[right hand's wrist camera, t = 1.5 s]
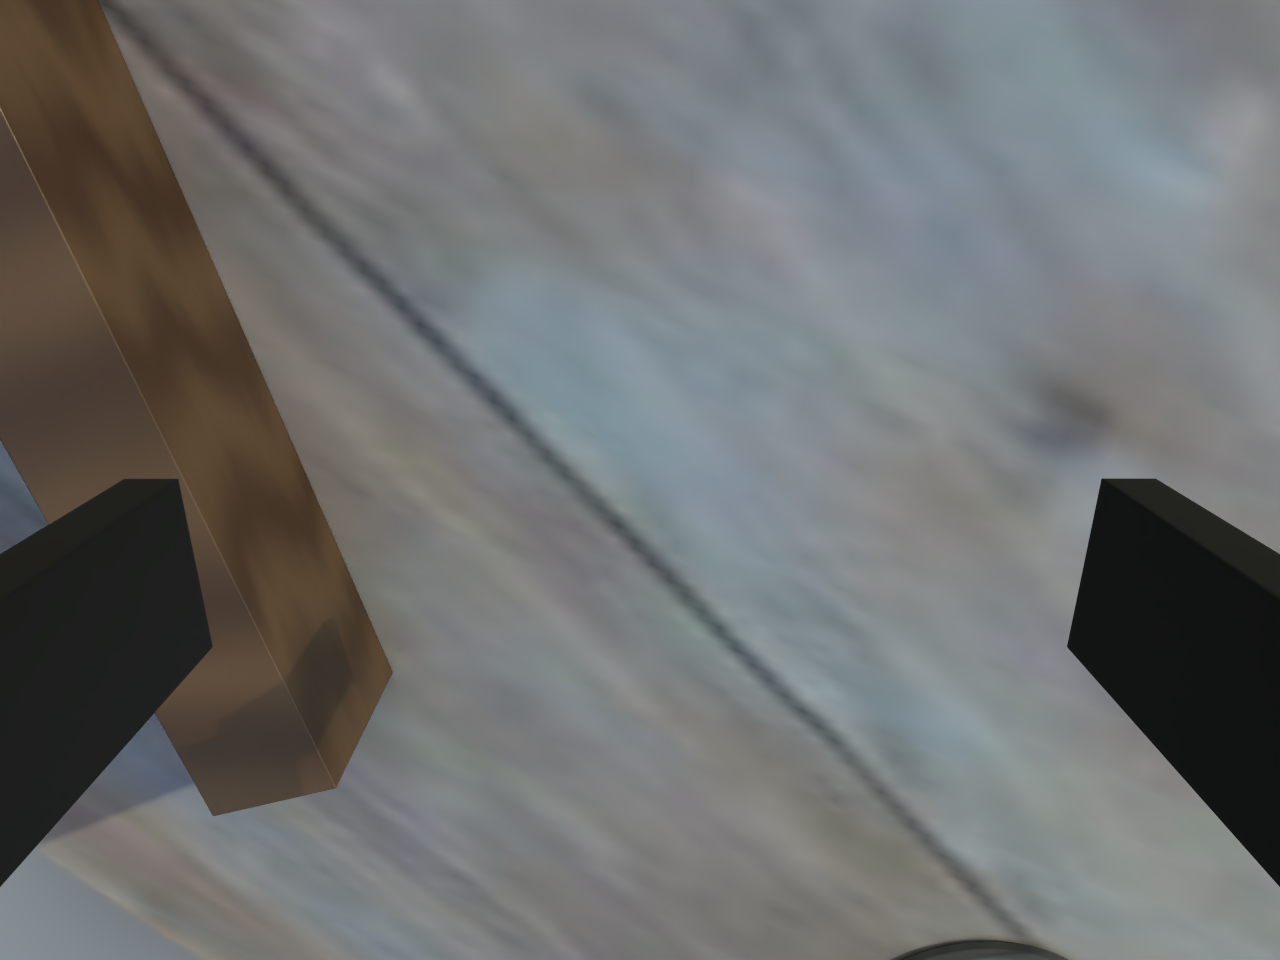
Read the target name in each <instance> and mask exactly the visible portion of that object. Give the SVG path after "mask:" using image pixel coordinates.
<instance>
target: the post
mask: <svg viewBox="0 0 1280 960" xmlns="http://www.w3.org/2000/svg"><path fill="white" fill-rule="evenodd" d="M0 440H1V441H2V443H3V445H4V447H5V448H6V450H7V452H8V454H9V456H10V457H11V459H12V461H13V463H14V464H15V466H16V468H17V470H18V471H19V473H20V475H21V477H22V479H23V480H24V482H25V484H26V486H27V487H28V489H29V491H30V493H31V494H32V496H33V498H34V500H35V502H36V503H37V505H38V507H39V509H40V510H41V512H42V514H43V516H44V518H45V519H46V521H47V523H48V525H49V524H51V523H53V522H54V521H56V520H57V519H59V518H61V517H62V516H64V515H66V514H67V513H69V512H71V511H72V510H74V509H76V508H77V507H79V506H80V505H82V504H84V503H85V502H87V501H89V500H90V499H92V498H94V497H95V496H97V495H99V494H100V493H102V492H103V491H105V490H107V489H108V488H110V487H112V486H113V485H115V484H117V483H118V482H120V481H122V480H123V479H178V480H179V485H180V490H181V494H182V499H183V504H184V509H185V514H186V519H187V524H188V528H189V533H190V538H191V543H192V548H193V553H194V558H195V563H196V567H197V572H198V577H199V582H200V587H201V592H202V597H203V601H204V606H205V611H206V616H207V621H208V626H209V631H210V635H211V640H212V645H213V647H212V648H211V650H210V651H209V652H208V653H207V654H206V655H205V656H204V657H203V659H202V660H201V661H200V662H199V663H198V664H197V665H196V666H195V668H194V669H193V670H192V671H191V672H190V673H189V674H188V675H187V677H186V678H185V679H184V680H183V681H182V682H181V683H180V685H179V686H178V687H177V688H176V689H175V690H174V691H173V692H172V694H171V695H170V696H169V697H168V698H167V699H166V700H165V701H164V703H163V704H162V705H161V706H160V707H159V708H158V709H157V710H156V712H155V714H156V716H157V718H158V719H159V721H160V723H161V725H162V726H163V728H164V730H165V732H166V734H167V735H168V737H169V739H170V741H171V742H172V744H173V746H174V748H175V749H176V751H177V753H178V755H179V757H180V758H181V760H182V762H183V764H184V765H185V767H186V769H187V771H188V772H189V774H190V776H191V778H192V780H193V781H194V783H195V785H196V787H197V788H198V790H199V792H200V794H201V795H202V797H203V799H204V801H205V803H206V804H207V806H208V808H209V810H210V811H211V813H212V815H213V816H216V815H221V814H225V813H229V812H234V811H238V810H242V809H247V808H251V807H255V806H260V805H264V804H268V803H273V802H277V801H282V800H286V799H290V798H295V797H299V796H303V795H308V794H312V793H316V792H321V791H325V790H330V789H334V788H336V787H337V785H338V783H339V781H340V779H341V777H342V775H343V772H344V770H345V768H346V766H347V764H348V762H349V760H350V758H351V756H352V754H353V752H354V750H355V748H356V746H357V744H358V742H359V740H360V738H361V736H362V734H363V732H364V730H365V728H366V726H367V724H368V721H369V719H370V717H371V715H372V713H373V711H374V709H375V707H376V705H377V703H378V701H379V699H380V697H381V695H382V693H383V691H384V689H385V687H386V685H387V683H388V681H389V679H390V677H391V675H392V670H391V667H390V665H389V663H388V660H387V658H386V656H385V654H384V651H383V649H382V647H381V644H380V642H379V640H378V638H377V635H376V633H375V631H374V629H373V626H372V624H371V622H370V619H369V617H368V615H367V613H366V610H365V608H364V606H363V603H362V601H361V599H360V597H359V594H358V592H357V590H356V588H355V585H354V583H353V581H352V578H351V576H350V574H349V572H348V569H347V567H346V565H345V562H344V560H343V558H342V556H341V553H340V551H339V549H338V546H337V544H336V542H335V540H334V537H333V535H332V533H331V531H330V528H329V526H328V524H327V521H326V519H325V517H324V515H323V512H322V510H321V508H320V505H319V503H318V501H317V499H316V496H315V494H314V492H313V490H312V487H311V485H310V483H309V480H308V478H307V476H306V474H305V471H304V469H303V467H302V464H301V462H300V460H299V458H298V455H297V453H296V451H295V448H294V446H293V444H292V442H291V439H290V437H289V435H288V433H287V430H286V428H285V426H284V423H283V421H282V419H281V417H280V414H279V412H278V410H277V407H276V405H275V403H274V401H273V398H272V396H271V394H270V391H269V389H268V387H267V385H266V382H265V380H264V378H263V376H262V373H261V371H260V369H259V366H258V364H257V362H256V360H255V357H254V355H253V353H252V350H251V348H250V346H249V344H248V341H247V339H246V337H245V335H244V332H243V330H242V328H241V325H240V323H239V321H238V319H237V316H236V314H235V312H234V309H233V307H232V305H231V303H230V300H229V298H228V296H227V293H226V291H225V289H224V287H223V284H222V282H221V280H220V278H219V275H218V273H217V271H216V268H215V266H214V264H213V262H212V259H211V257H210V255H209V252H208V250H207V248H206V246H205V243H204V241H203V239H202V237H201V234H200V232H199V230H198V227H197V225H196V223H195V221H194V218H193V216H192V214H191V211H190V209H189V207H188V205H187V202H186V200H185V198H184V195H183V193H182V191H181V189H180V186H179V184H178V182H177V180H176V177H175V175H174V173H173V170H172V168H171V166H170V164H169V161H168V159H167V157H166V154H165V152H164V150H163V148H162V145H161V143H160V141H159V139H158V136H157V134H156V132H155V129H154V127H153V125H152V123H151V120H150V118H149V116H148V113H147V111H146V109H145V107H144V104H143V102H142V100H141V97H140V95H139V93H138V91H137V88H136V86H135V84H134V82H133V79H132V77H131V75H130V72H129V70H128V68H127V66H126V63H125V61H124V59H123V56H122V54H121V52H120V50H119V47H118V45H117V43H116V41H115V38H114V36H113V34H112V31H111V29H110V27H109V25H108V22H107V20H106V18H105V15H104V13H103V11H102V9H101V6H100V4H99V2H98V0H0Z"/></svg>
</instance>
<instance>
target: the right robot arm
mask: <svg viewBox="0 0 1280 960" xmlns="http://www.w3.org/2000/svg"><path fill="white" fill-rule="evenodd" d="M212 647H213V645H212V640H211V635H210V631H209V626H208V621H207V616H206V611H205V606H204V601H203V597H202V592H201V587H200V582H199V577H198V572H197V567H196V563H195V558H194V553H193V548H192V543H191V538H190V533H189V528H188V524H187V519H186V514H185V509H184V504H183V499H182V494H181V490H180V485H179V480H178V479H123V480H122V481H120V482H118V483H117V484H115V485H113V486H112V487H110V488H108V489H107V490H105V491H103V492H102V493H100V494H99V495H97V496H95V497H94V498H92V499H90V500H89V501H87V502H85V503H84V504H82V505H80V506H79V507H77V508H76V509H74V510H72V511H71V512H69V513H67V514H66V515H64V516H62V517H61V518H59V519H57V520H56V521H54V522H53V523H51V524H49V525H48V526H46V527H44V528H43V529H41V530H39V531H38V532H36V533H34V534H33V535H31V536H29V537H28V538H26V539H25V540H23V541H21V542H20V543H18V544H16V545H15V546H13V547H11V548H10V549H8V550H6V551H5V552H3V553H2V554H0V886H1V885H2V884H3V883H4V882H5V881H6V880H7V879H8V877H9V876H10V875H11V874H12V873H13V872H14V871H15V869H16V868H17V867H18V866H19V865H20V864H21V863H22V862H23V861H24V859H25V858H26V857H27V856H28V855H29V854H30V853H31V851H32V850H33V849H34V848H35V847H36V846H37V845H38V844H39V842H40V841H41V840H42V839H43V838H44V837H45V836H46V835H47V833H48V832H49V831H50V830H51V829H52V828H53V827H54V826H55V824H56V823H57V822H58V821H59V820H60V819H61V818H62V817H63V815H64V814H65V813H66V812H67V811H68V810H69V809H70V807H71V806H72V805H73V804H74V803H75V802H76V801H77V800H78V798H79V797H80V796H81V795H82V794H83V793H84V792H85V791H86V789H87V788H88V787H89V786H90V785H91V784H92V783H93V782H94V780H95V779H96V778H97V777H98V776H99V775H100V774H101V773H102V771H103V770H104V769H105V768H106V767H107V766H108V765H109V763H110V762H111V761H112V760H113V759H114V758H115V757H116V756H117V754H118V753H119V752H120V751H121V750H122V749H123V748H124V747H125V745H126V744H127V743H128V742H129V741H130V740H131V739H132V738H133V736H134V735H135V734H136V733H137V732H138V731H139V730H140V729H141V727H142V726H143V725H144V724H145V723H146V722H147V721H148V719H149V718H150V717H151V716H152V715H153V714H154V713H155V712H156V710H157V709H158V708H159V707H160V706H161V705H162V704H163V703H164V701H165V700H166V699H167V698H168V697H169V696H170V695H171V694H172V692H173V691H174V690H175V689H176V688H177V687H178V686H179V685H180V683H181V682H182V681H183V680H184V679H185V678H186V677H187V675H188V674H189V673H190V672H191V671H192V670H193V669H194V668H195V666H196V665H197V664H198V663H199V662H200V661H201V660H202V659H203V657H204V656H205V655H206V654H207V653H208V652H209V651H210V650H211V648H212ZM1067 647H1068V648H1069V650H1070V651H1071V652H1072V653H1073V654H1074V655H1075V656H1076V657H1077V659H1078V660H1079V661H1080V662H1081V663H1082V664H1083V665H1084V666H1085V668H1086V669H1087V670H1088V671H1089V672H1090V673H1091V674H1092V675H1093V677H1094V678H1095V679H1096V680H1097V681H1098V682H1099V683H1100V685H1101V686H1102V687H1103V688H1104V689H1105V690H1106V691H1107V692H1108V694H1109V695H1110V696H1111V697H1112V698H1113V699H1114V700H1115V701H1116V703H1117V704H1118V705H1119V706H1120V707H1121V708H1122V709H1123V710H1124V712H1125V713H1126V714H1127V715H1128V716H1129V717H1130V718H1131V719H1132V721H1133V722H1134V723H1135V724H1136V725H1137V726H1138V727H1139V729H1140V730H1141V731H1142V732H1143V733H1144V734H1145V735H1146V736H1147V738H1148V739H1149V740H1150V741H1151V742H1152V743H1153V744H1154V745H1155V747H1156V748H1157V749H1158V750H1159V751H1160V752H1161V753H1162V754H1163V756H1164V757H1165V758H1166V759H1167V760H1168V761H1169V762H1170V763H1171V765H1172V766H1173V767H1174V768H1175V769H1176V770H1177V771H1178V773H1179V774H1180V775H1181V776H1182V777H1183V778H1184V779H1185V780H1186V782H1187V783H1188V784H1189V785H1190V786H1191V787H1192V788H1193V789H1194V791H1195V792H1196V793H1197V794H1198V795H1199V796H1200V797H1201V798H1202V800H1203V801H1204V802H1205V803H1206V804H1207V805H1208V806H1209V807H1210V809H1211V810H1212V811H1213V812H1214V813H1215V814H1216V815H1217V817H1218V818H1219V819H1220V820H1221V821H1222V822H1223V823H1224V824H1225V826H1226V827H1227V828H1228V829H1229V830H1230V831H1231V832H1232V833H1233V835H1234V836H1235V837H1236V838H1237V839H1238V840H1239V841H1240V842H1241V844H1242V845H1243V846H1244V847H1245V848H1246V849H1247V850H1248V851H1249V853H1250V854H1251V855H1252V856H1253V857H1254V858H1255V859H1256V861H1257V862H1258V863H1259V864H1260V865H1261V866H1262V867H1263V868H1264V870H1265V871H1266V872H1267V873H1268V874H1269V875H1270V876H1271V877H1272V879H1273V880H1274V881H1275V882H1276V883H1277V884H1278V885H1279V886H1280V554H1278V553H1277V552H1275V551H1274V550H1272V549H1270V548H1269V547H1267V546H1265V545H1264V544H1262V543H1260V542H1259V541H1257V540H1255V539H1254V538H1252V537H1250V536H1249V535H1247V534H1246V533H1244V532H1242V531H1241V530H1239V529H1237V528H1236V527H1234V526H1232V525H1231V524H1229V523H1227V522H1226V521H1224V520H1223V519H1221V518H1219V517H1218V516H1216V515H1214V514H1213V513H1211V512H1209V511H1208V510H1206V509H1204V508H1203V507H1201V506H1200V505H1198V504H1196V503H1195V502H1193V501H1191V500H1190V499H1188V498H1186V497H1185V496H1183V495H1181V494H1180V493H1178V492H1177V491H1175V490H1173V489H1172V488H1170V487H1168V486H1167V485H1165V484H1163V483H1162V482H1160V481H1158V480H1157V479H1102V480H1101V485H1100V490H1099V494H1098V499H1097V504H1096V509H1095V514H1094V519H1093V524H1092V528H1091V533H1090V538H1089V543H1088V548H1087V553H1086V558H1085V563H1084V567H1083V572H1082V577H1081V582H1080V587H1079V592H1078V597H1077V601H1076V606H1075V611H1074V616H1073V621H1072V626H1071V631H1070V635H1069V640H1068V645H1067ZM903 960H1067V959H1065V958H1063V957H1061V956H1059V955H1057V954H1054V953H1052V952H1049V951H1046V950H1043V949H1040V948H1036V947H1032V946H1029V945H1023V944H1017V943H1009V942H994V941H982V942H967V943H959V944H953V945H948V946H943V947H938V948H935V949H931V950H927V951H924V952H921V953H918V954H916V955H913V956H910V957H908V958H906V959H903Z"/></svg>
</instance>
